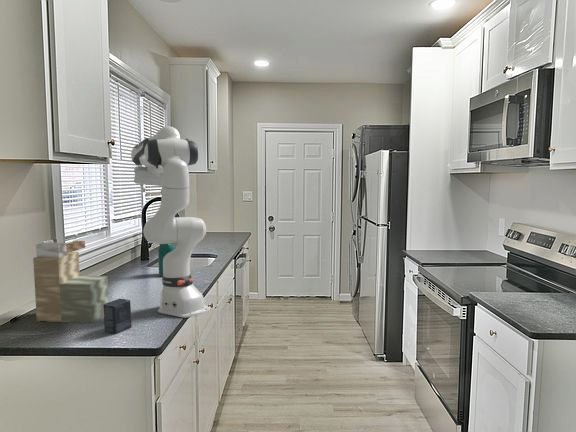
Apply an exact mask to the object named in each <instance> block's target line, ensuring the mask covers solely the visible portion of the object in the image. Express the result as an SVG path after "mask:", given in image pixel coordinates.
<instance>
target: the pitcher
mask: <svg viewBox="0 0 576 432" xmlns="http://www.w3.org/2000/svg"><path fill="white" fill-rule="evenodd" d="M176 247H177V246H176V245H174V244H172V243H170V244H159V247H158V249H157V253H158V255H157V256H158V257H157V259H158V261H157V262H158V277H161V278H162V276H163V258H164V257H165V255H166V254H168V253H169V252H171V251H173V250H175V249H176Z"/></svg>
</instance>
